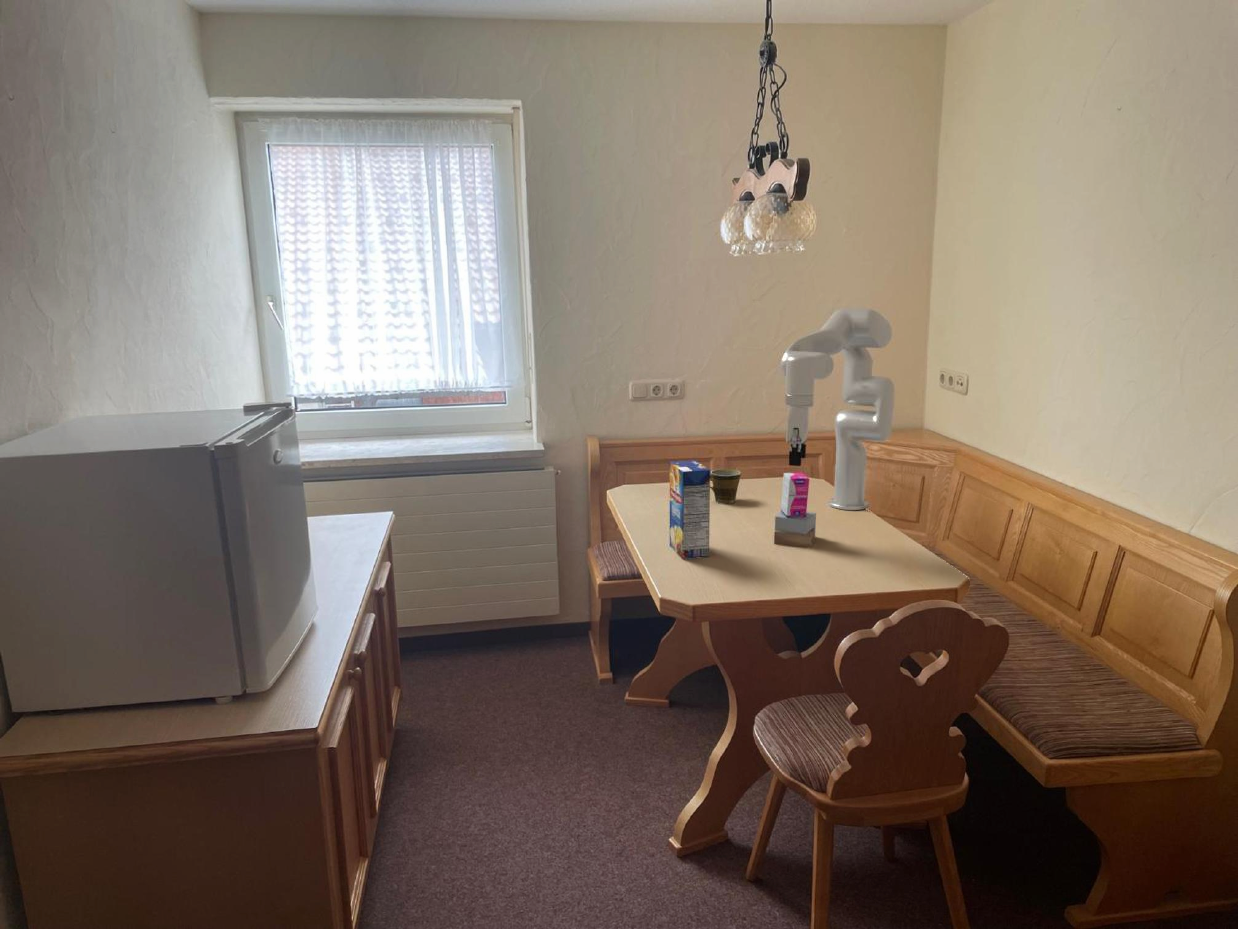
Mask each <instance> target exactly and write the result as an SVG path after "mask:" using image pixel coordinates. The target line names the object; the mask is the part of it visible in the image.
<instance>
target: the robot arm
mask: <svg viewBox="0 0 1238 929" xmlns="http://www.w3.org/2000/svg"><path fill="white" fill-rule="evenodd" d="M892 330H893V329H892V326H891V324H890V322H889V321H888V319H886V317H884V316H883V315H882V314H881V313H879V312H878V311H877V310H875V309H872V308H850V307H849V308H840V309H837V310H836V311H834V312H833V313H832V314H831V315H830V317H829V318H828V319H827V321H826V322H825V323H824V325H822V327H821V328H820V330H817V331H814V332H812V333H810V334H808V335H805V336H803V337H801V338H798V339H797V340H795V341H794V342H792V343H791V344H790V345H789V347H788V348H787V349H786V350H785V351H784V353H783V355H782V357H781V361H780V370H781V373H782V374H783V376H785V395H784V396H785V397H784V398H785V399H784V405H785V407H787V408H788V409H787V418H786V420H787V421H786V434H785V442H786V444H789V443H790V445H789V451H788V452H789V453H788V454H789V455H788V465H789V466H792V467H793V466H794V467H801V465H802V459H806V453H807V450H806V448H807V444H806V440H807V438H808V433H809V416H810V415H809V414H810V412H809V411H810V408H812V407H814V395H815V394H814V393H815V391H814V388H815V380H825V379H827V378H829V376H830V375H832V372H833V371H834V366H835V365H834V359H833V357H832V356H833V355H837V354H838V353H840V352H842V355H843V359H844V369H843V379H842V390H841V391H842V392H841V395H842V401H843V402H844V403H846V404H847V405H851V406H861V407H871V408H875V411H874V410H866V409H864V410H863V409H854V408H853V409H852V408H851V409H849V408H848V409H843V410H840V411H839V412H838V413H837V414H836V415H835V417H834V421H833V422H834V423H833V424H834V433H835V444H836V445H835V446H836V447H835V466H834V467H835V468H834V469H835V470H834V486H833V487H834V488H833V490H834V491H833V498H831V499H829V500H828V505H829V506H830V507H831V508H835V509H839V510H845V511H861V510H865V509H867V508H869V506H870V503H869V502H868V500H865V486H866V472H867V457H868V456H867V450H866V448H865V446H864V445H863V443H862V441H866V442H877V443H883V442H886V441H887V440H888V439H889V438H890V436H891V432H892V426H893V418H894V417H893V416H894V407H895V405H894V404H895V397H896V396H895V394H896V391H895V384H894V382H893V381H892V379H891V378H889V377H886V376H876V375H875V376H874V375H873V364H874V362H873V358H872V355H871V354H870V351H869V350H868V349H869V348H870V349H871V348H873V349H874V348H875V349H882V348H885V347H887V346H888V345H889V344H890V343H891V340H892V336H893V331H892Z"/></svg>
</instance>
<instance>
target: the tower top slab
mask: <svg viewBox="0 0 1238 929" xmlns="http://www.w3.org/2000/svg"><path fill="white" fill-rule="evenodd" d="M774 518H775V519H774V531H775V530H777V531H784V532H791V533H798V534H805V535H806V534H808V533H809V532H810V531H811V530H812V529H813V528H814V527H815V526H816V525H817V524H816V523H817V512H816V511H815V512H813V511H808V510H807V511H806V517H786V516H785V515H784V514H783V513H782V512H781V511H780V512H779V513H778V514H777V515H775V517H774ZM816 527H817V526H816Z"/></svg>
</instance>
